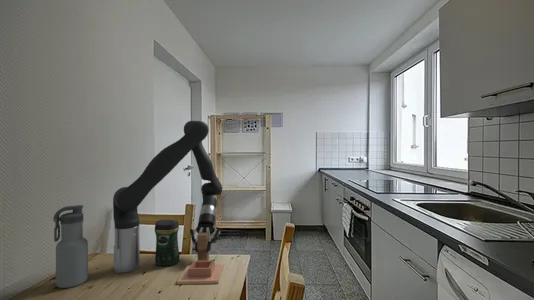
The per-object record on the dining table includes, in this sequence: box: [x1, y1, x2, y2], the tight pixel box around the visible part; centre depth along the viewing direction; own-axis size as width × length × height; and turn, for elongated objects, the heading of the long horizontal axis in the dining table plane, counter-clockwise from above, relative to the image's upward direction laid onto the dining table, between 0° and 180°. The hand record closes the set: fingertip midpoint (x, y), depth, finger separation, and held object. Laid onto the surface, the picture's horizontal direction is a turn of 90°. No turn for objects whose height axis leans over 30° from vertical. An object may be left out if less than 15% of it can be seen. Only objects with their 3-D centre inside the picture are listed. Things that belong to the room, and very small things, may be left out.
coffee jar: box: [154, 219, 180, 266], centre depth 123 cm, size 10×8×19 cm
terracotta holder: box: [176, 259, 225, 285], centre depth 110 cm, size 15×15×4 cm
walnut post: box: [196, 232, 210, 261], centre depth 124 cm, size 4×4×12 cm
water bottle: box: [52, 204, 89, 289], centre depth 105 cm, size 10×10×28 cm
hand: (202, 251), depth 123 cm, fingers closed on walnut post, 4 cm apart
